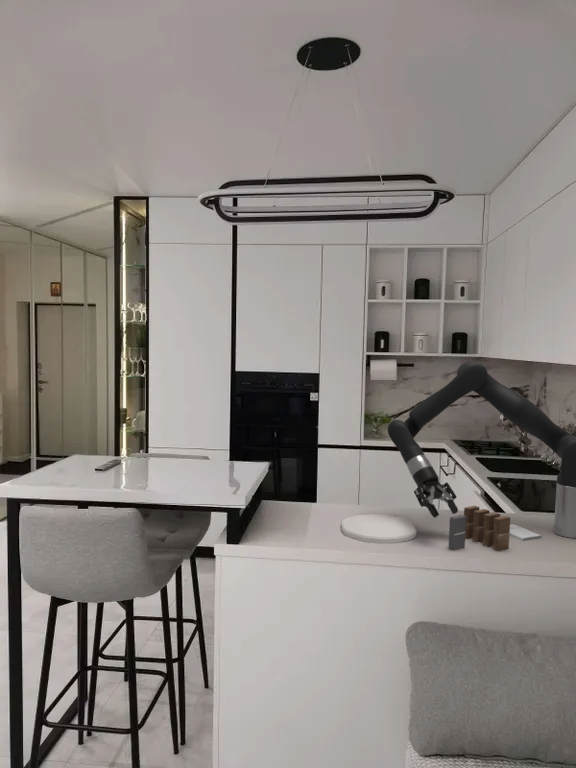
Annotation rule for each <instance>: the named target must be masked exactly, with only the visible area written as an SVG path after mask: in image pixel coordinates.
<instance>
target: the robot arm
mask: <svg viewBox="0 0 576 768" xmlns="http://www.w3.org/2000/svg"><path fill="white" fill-rule="evenodd" d="M471 392H474V393H476V394H478V395H479V396H481V397H482V398H484V399H485V400H486V401H487V402H488V403H489V404H491V406H492V407H494V408H495V409H496V410H497V411H498V412H499V413H500V414H501V415H503V416H504V417H505V418H506V419H507V420H508V421H510V422H511V423H513V424H514V425H515V426H517V427H518V428H520V429H521V430H523V431H524V432H526V433H528V434H529V435H531V436H533V437H534V438H537V439H538V440H540V441H541V442H542V443H544V444H545V445H546V446H547V447H548V448H549V449H551V450H552V451H553V452H554V453H555V454H556V455H557V456H558V457H559V459H561V463H560V472H559V473H558V474H557V476H556V488H555V490H556V491H555V506H554V523H553V533H554V534H556V535H558V536H562V537H565V538H570V539H572V538H573V539H576V435H574V434H572V433H570V432H568V431H566V430H565V429H564V428H561V427H560V426H558V425H557V424H556V423H554V421H552V419H550V418H549V416H547V414H546V413H545V412H544V411H543V410H541V408H540V407H538V406H537V405H536V404H534V403H533V402H532V401H530V400H529V399H528V398H526V397H525V396H523V395H522V394H520V393H518V392H517V391H515V390H513V389H511V388H510V387H508V386H506V385H504V384H502V383H501V382H499V381H498V380H496V379H495V378H494V377H493V376H492V375H491V374H489V373H488V370H487V367H486V366H485V365H483V364H482V363H481V362H477V361H471V360H470V361H466V362H463V363H461V364H460V365H459V366H458V368H457V371H456V376H455V377H454V378H453V379H452V380H450V382H449V383H447V384H446V385H445V386H443V387H442V388H440V389H439V390H438V391H436V392H434V393H433V394H431V395H430V396H427V397H426V398H425V399H423V400H422V401H421V402H420V403H419V404H417V405H416V406H415V407H414V408H412V409H411V410H410V411H409V413H408V417H407V418H406V420H404V421H403V420H400V419H394V420H392V421H390V423H388V426H387V434H388V436H389V438H390V440H391V441H392V443H393V444H394V446H395V447H396V449H397V450H398V451H399V452H400V455H401V457H402V460H403V461H404V463H405V464H406V466H407V469H408V472H409V473H410V475H411V477H412V479H413V481H414V483H415V484H416V486H417V488H415V489H414V491H413V493H414V494H415V497H416V500H417V501H418V503H419V505H420V507H421V508H423V507H425V508H427V509H428V511H429V513H430V515H431V516H432V517H433V518H435V519H436V518H438V517H439V511H438V509H437V508H436V506H435V504H433V500H440V501H443V502H445V503H446V504H447V506H448V508H449V511H450V512H451V513H452V515H455V514H457V513H458V512H459V509H458V506H457V505H456V503H455V501H454V500H456V498H457V494H455V492H454V490H453V489H452V487H451V486H450V484H449V483H448V482H445V483H444V484H441V482H440V481H439V476H438V474H437V471H435V469H434V467H433V465H432V464H431V462H430V460H429V459H428V457H427V456H426V455H425V452H423V449H422V448H421V446H420V445H419V443H418V442H417V441H416V440H415V439H414V438H415V437H416V436H417V435H418V434H419V433H420V432H421V430H422V429H423V427H424V426H426V425H428V424H429V423H430V422H431V421H432V420H433V419H435V418H436V417H437V416H439V415H440V414H442V412H444V411H445V410H446V409H447V408H449V407H450V406H451V405H452V404H454V403H455V402H457V401H458V400H459V399H461V398H463V397H464V396H466V395H468V394H469V393H471Z"/></svg>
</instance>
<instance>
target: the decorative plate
mask: <svg viewBox="0 0 576 768" xmlns="http://www.w3.org/2000/svg"><path fill="white" fill-rule="evenodd" d="M341 526H342V527H341V533H342V532H343V533H344V534H345V535H346V536H345V535H344V534H343V535H344V536H345V537H348V538H350V537H351V539H353V538H354V540H356V539H357V541H360V540H361V542H364V541H368V542H367V543H372V542H379V543H378V544H382V543H385V544H398V542H400V543H404V541H405V542H408V541H410V540H413V539H415V538H416V537H417V528H416V527H415V526H414V524H413V523H412V522H411V521H410V520H407V519H406V518H403V517H398V516H392V515H388V514H377V513H375V514H374V513H370V514H356V515H352V516H348V517H346V518H344V519H342V521H341Z"/></svg>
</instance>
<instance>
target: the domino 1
mask: <svg viewBox="0 0 576 768" xmlns="http://www.w3.org/2000/svg"><path fill="white" fill-rule="evenodd" d="M448 527H449V528H448V529H449V530H448V550H451V551H457V550H460V549H461V550H462V549H464V548H465V547H466V545H465V543H466V538H465V529H466V516H464V514H463V515H462V514H459V515H454V516H450V517H449V526H448Z"/></svg>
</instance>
